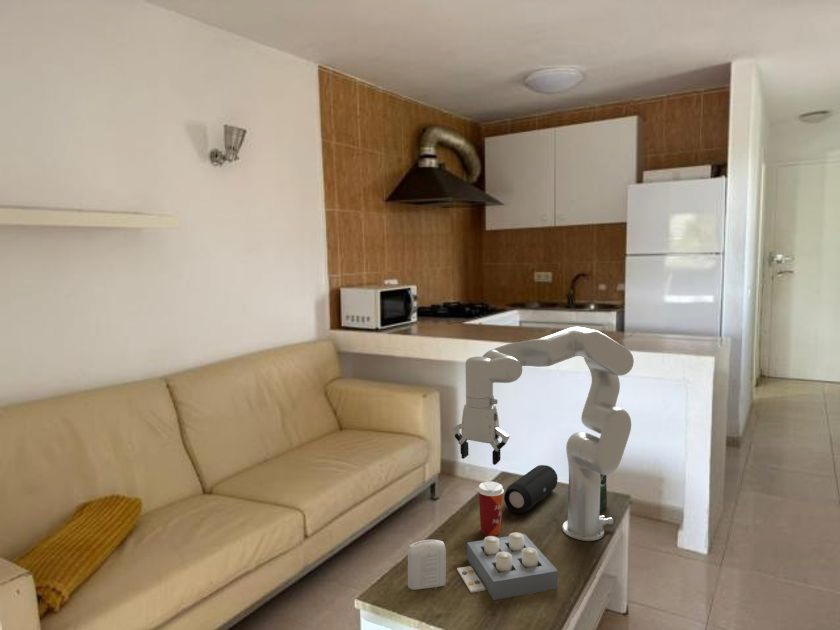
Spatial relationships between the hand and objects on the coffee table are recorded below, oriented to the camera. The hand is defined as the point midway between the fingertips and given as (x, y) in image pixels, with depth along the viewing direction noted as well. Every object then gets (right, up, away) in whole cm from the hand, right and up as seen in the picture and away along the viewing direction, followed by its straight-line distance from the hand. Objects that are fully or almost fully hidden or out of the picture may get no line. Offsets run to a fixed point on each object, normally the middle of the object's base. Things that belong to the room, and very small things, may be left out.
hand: (480, 460), depth 161 cm
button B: (+12, -27, -8) cm, 31 cm away
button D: (+5, -27, -10) cm, 30 cm away
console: (+8, -30, -5) cm, 31 cm away
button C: (+3, -26, -2) cm, 27 cm away
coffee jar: (+42, -25, +34) cm, 60 cm away
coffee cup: (+5, -27, +18) cm, 33 cm away
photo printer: (-15, -31, -10) cm, 36 cm away
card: (-3, -30, -8) cm, 31 cm away
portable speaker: (+22, -25, +39) cm, 52 cm away
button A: (+10, -26, 0) cm, 28 cm away
